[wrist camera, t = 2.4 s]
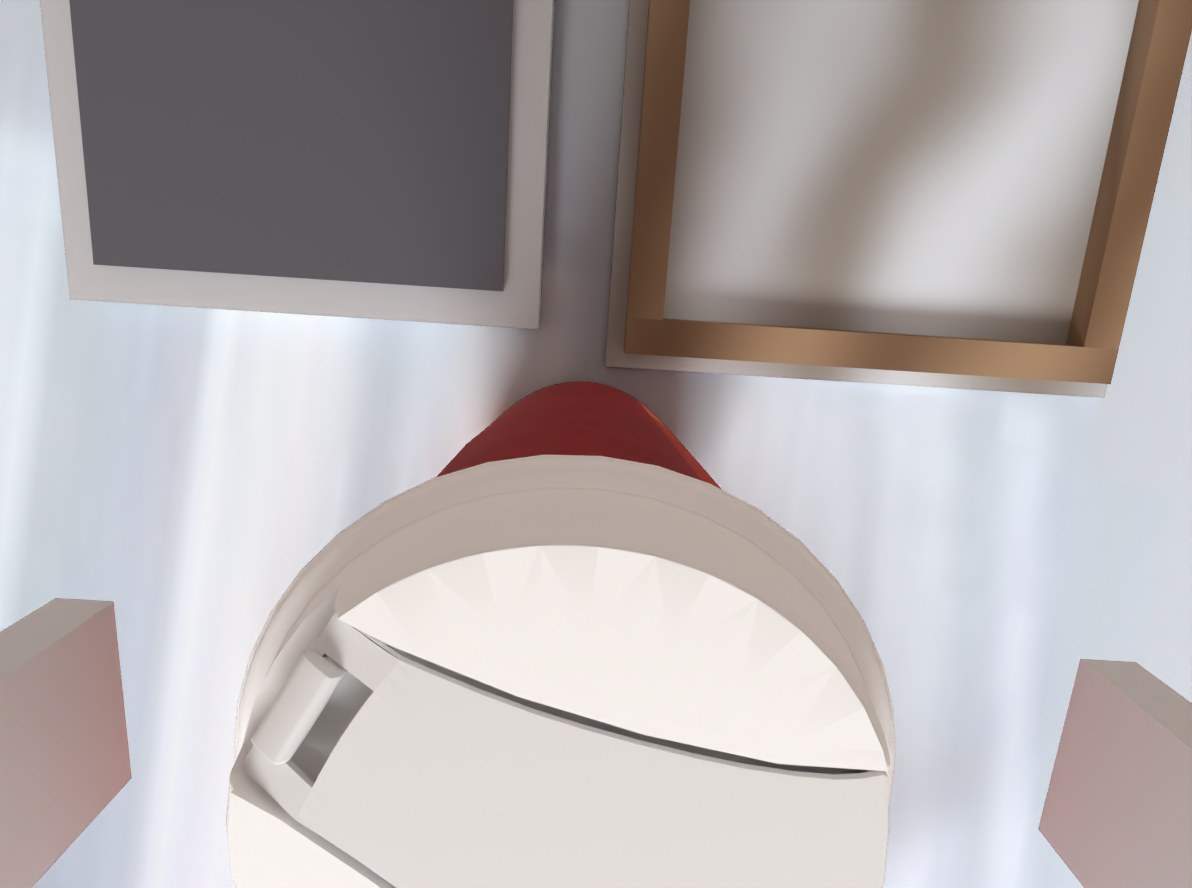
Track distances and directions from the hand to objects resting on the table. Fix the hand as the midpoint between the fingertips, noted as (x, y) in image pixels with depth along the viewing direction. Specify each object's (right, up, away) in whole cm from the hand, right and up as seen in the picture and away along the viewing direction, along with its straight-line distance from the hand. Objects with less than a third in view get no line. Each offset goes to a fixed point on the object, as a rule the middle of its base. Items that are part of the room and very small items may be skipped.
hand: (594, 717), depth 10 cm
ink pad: (-8, +14, +10) cm, 19 cm away
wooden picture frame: (+8, +13, +10) cm, 18 cm away
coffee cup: (0, +3, +13) cm, 13 cm away
